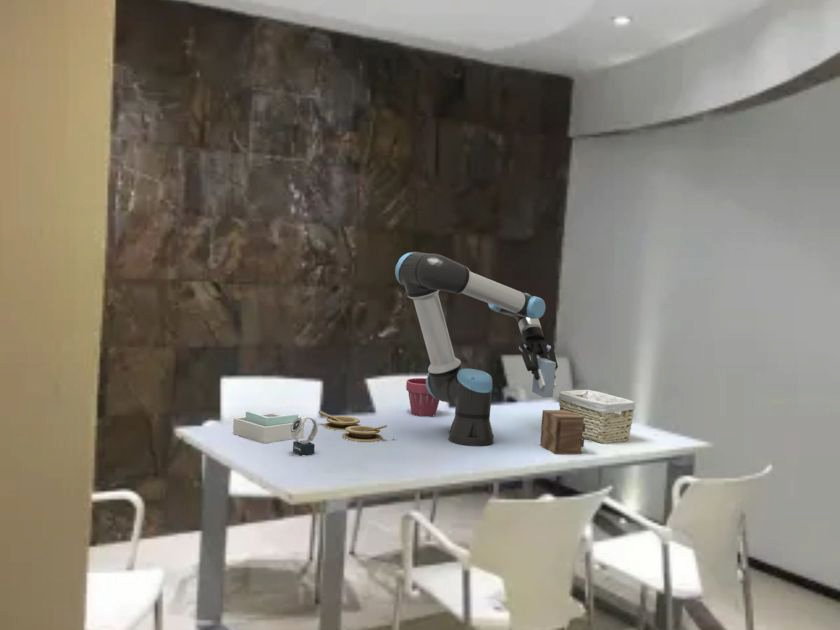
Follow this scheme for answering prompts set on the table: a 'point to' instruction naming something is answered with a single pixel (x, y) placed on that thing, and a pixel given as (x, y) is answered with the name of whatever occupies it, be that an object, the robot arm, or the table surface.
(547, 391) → the grey rectangular block
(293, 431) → the watch
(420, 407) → the plant pot
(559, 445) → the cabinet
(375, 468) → the table surface
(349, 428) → the tableware set
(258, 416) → the mint green square box
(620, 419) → the storage basket
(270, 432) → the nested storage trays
